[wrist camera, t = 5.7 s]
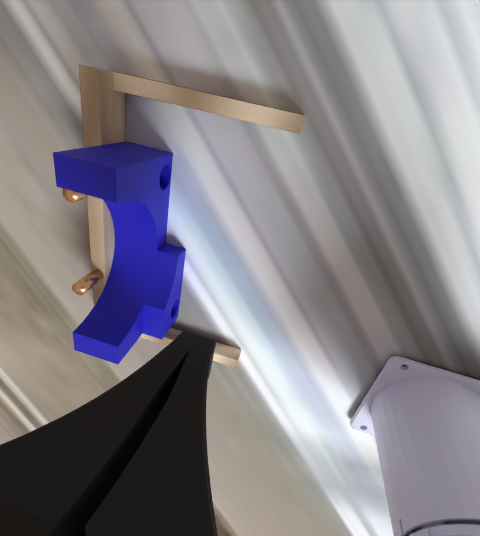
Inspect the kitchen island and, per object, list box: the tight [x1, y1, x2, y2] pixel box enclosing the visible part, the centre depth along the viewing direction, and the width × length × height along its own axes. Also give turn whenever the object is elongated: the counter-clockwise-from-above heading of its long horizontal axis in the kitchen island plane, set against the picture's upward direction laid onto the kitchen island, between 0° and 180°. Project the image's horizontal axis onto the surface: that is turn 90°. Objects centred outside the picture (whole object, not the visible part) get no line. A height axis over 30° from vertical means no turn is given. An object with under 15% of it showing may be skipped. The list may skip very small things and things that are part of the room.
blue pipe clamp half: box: [53, 141, 186, 364], centre depth 18 cm, size 12×4×6 cm, turn 169°
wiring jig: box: [62, 65, 305, 368], centre depth 18 cm, size 11×18×4 cm, turn 169°
